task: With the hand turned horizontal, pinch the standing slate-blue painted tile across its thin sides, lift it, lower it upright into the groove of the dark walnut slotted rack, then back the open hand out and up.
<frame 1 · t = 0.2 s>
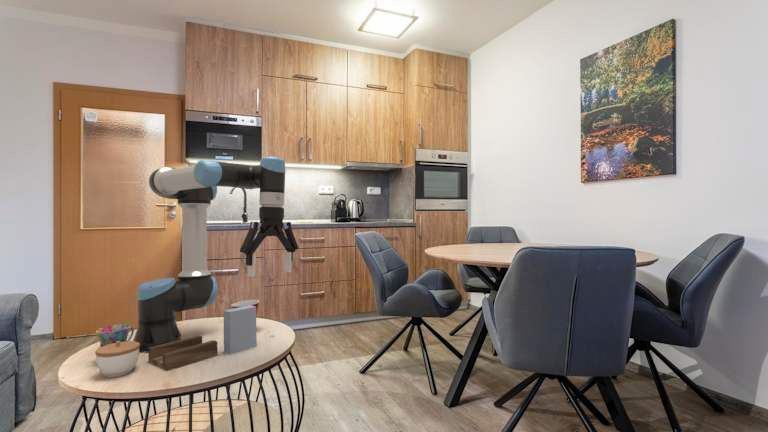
hand: (270, 274, 119), 27 cm above the table, tool pointing down, fingers open, 13 cm apart
walnut rack: (183, 358, 123), on the table
lidded jar: (118, 373, 112), on the table
slate tile: (240, 348, 132), on the table
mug: (117, 360, 123), on the table
plastic cup: (245, 332, 152), on the table
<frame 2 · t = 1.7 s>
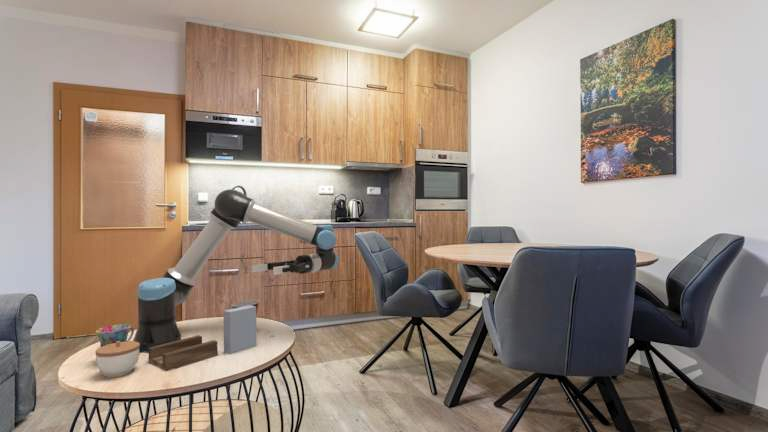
hand: (262, 270, 139), 26 cm above the table, tool horizontal, fingers open, 13 cm apart
nothing on the table moved.
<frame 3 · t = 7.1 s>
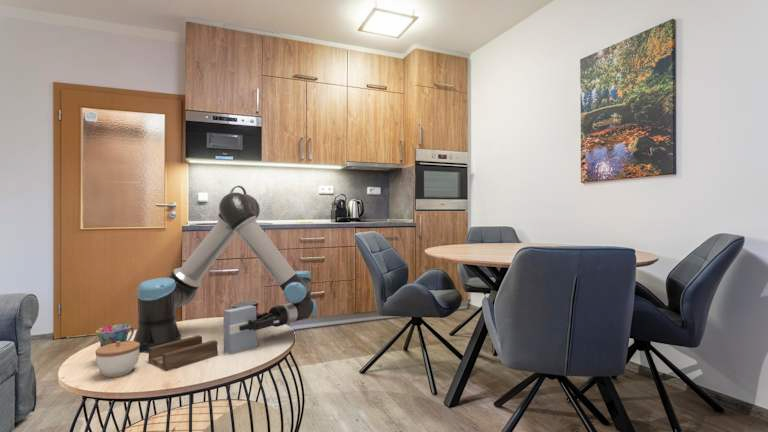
hand: (225, 329, 127), 8 cm above the table, tool horizontal, fingers closed on slate tile, 4 cm apart
slate tile: (240, 348, 132), on the table, touching gripper
everything else where it was.
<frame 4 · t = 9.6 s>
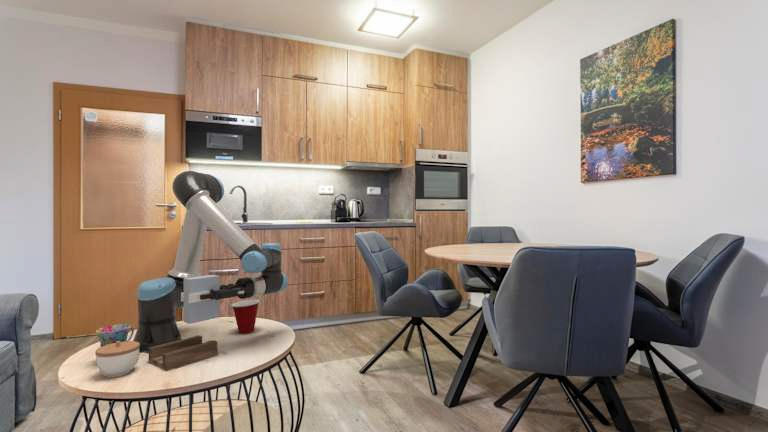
hand: (185, 297, 121), 20 cm above the table, tool horizontal, fingers closed on slate tile, 4 cm apart
slate tile: (202, 319, 125), point 12 cm above the table, touching gripper
everything else where it was.
when the fingers open (10 cm above the table, at t = 12.6 s): slate tile stays where it is, resting on walnut rack.
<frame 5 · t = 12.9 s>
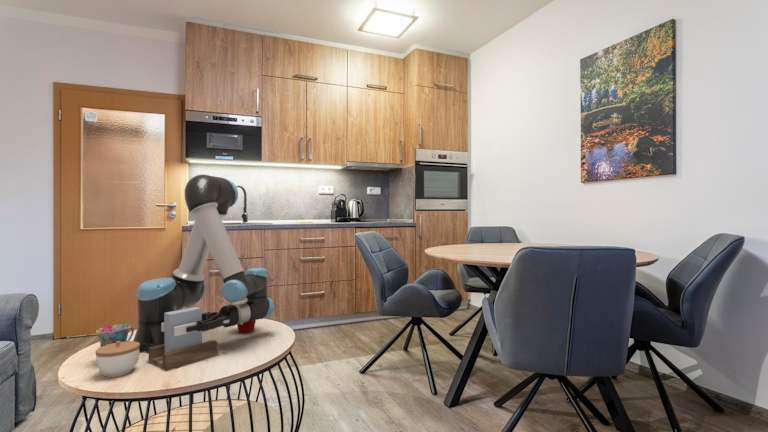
hand: (168, 329, 119), 10 cm above the table, tool horizontal, fingers open, 8 cm apart
slate tile: (183, 353, 123), point 1 cm above the table, touching walnut rack
everything else where it was.
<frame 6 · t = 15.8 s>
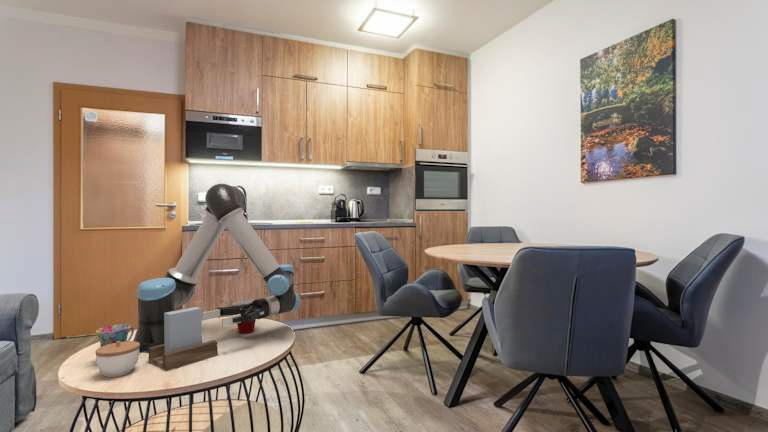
hand: (211, 319, 131), 11 cm above the table, tool horizontal, fingers open, 13 cm apart
plastic cup: (245, 331, 152), on the table, touching hand
everything else where it was.
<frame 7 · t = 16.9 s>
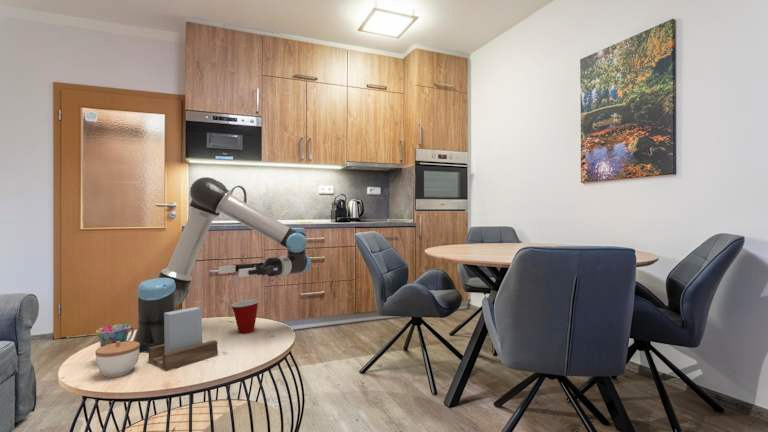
hand: (228, 271, 137), 26 cm above the table, tool horizontal, fingers open, 13 cm apart
plastic cup: (245, 332, 152), on the table
everything else where it was.
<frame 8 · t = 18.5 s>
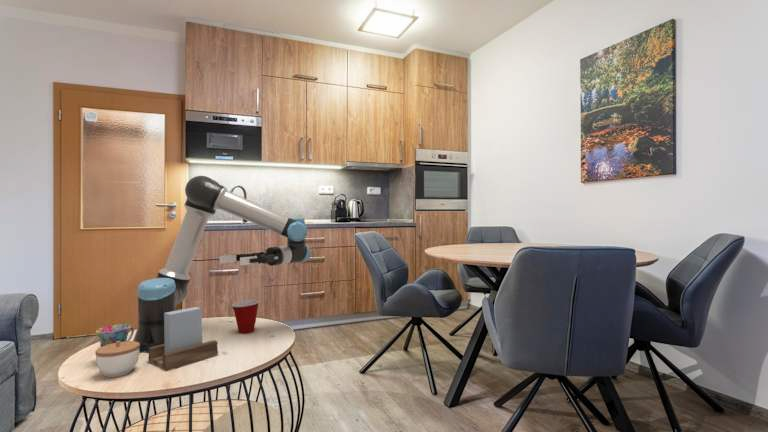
hand: (229, 260, 139), 30 cm above the table, tool horizontal, fingers open, 13 cm apart
nothing on the table moved.
at the end: slate tile inside the target area on the walnut rack (0.0 cm from its centre), point 1.5 cm above the walnut rack's base; slate tile tilted 0°; the gripper is holding nothing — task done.
